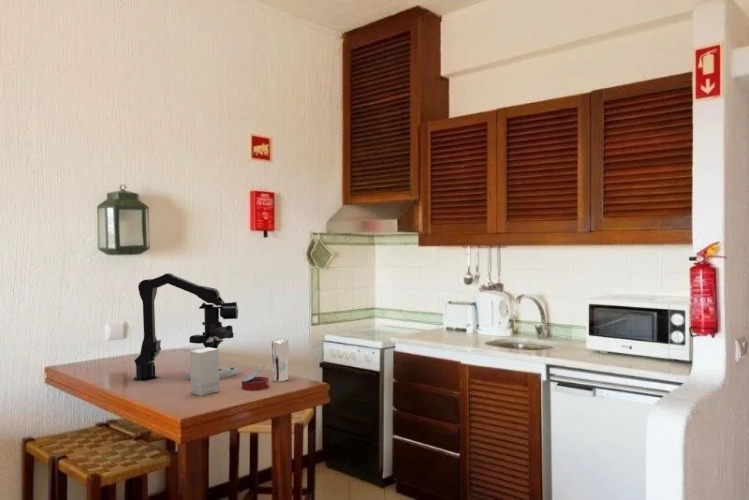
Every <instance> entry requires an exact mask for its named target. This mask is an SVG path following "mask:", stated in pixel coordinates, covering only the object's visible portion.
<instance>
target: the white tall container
mask: <svg viewBox="0 0 749 500" xmlns="http://www.w3.org/2000/svg"><path fill="white" fill-rule="evenodd" d="M289 345H290V344H289V340H282V339H280V340H272V341H271V344H270V356H271V364H272V368H273V370H272V371H273V375H272V381H273V382H277V383H278V382H279V383H280V382H286V381H289V374H288V366H289V365H288V364H289V361H290V346H289Z"/></svg>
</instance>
